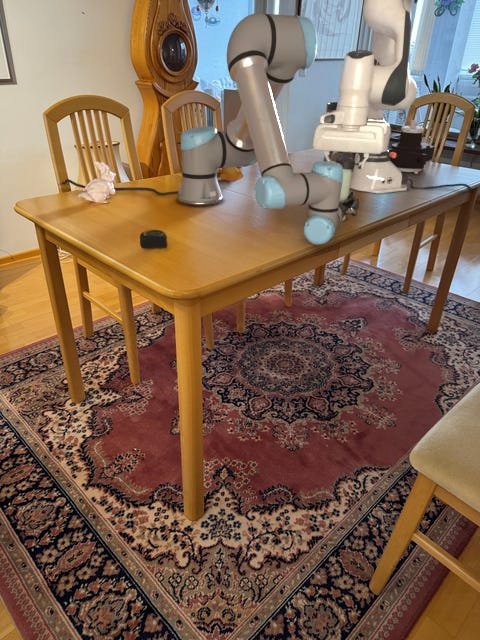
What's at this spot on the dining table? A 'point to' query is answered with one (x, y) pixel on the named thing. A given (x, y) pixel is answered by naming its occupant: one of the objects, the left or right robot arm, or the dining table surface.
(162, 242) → the tape measure
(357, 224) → the dining table surface
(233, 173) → the toy
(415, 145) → the mechanical component
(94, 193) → the figurine
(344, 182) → the pale green cylinder
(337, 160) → the lid
